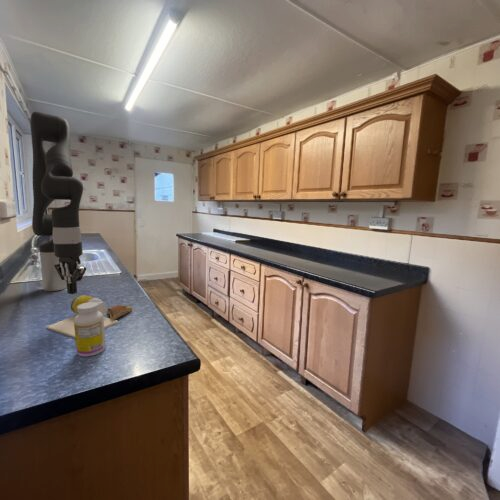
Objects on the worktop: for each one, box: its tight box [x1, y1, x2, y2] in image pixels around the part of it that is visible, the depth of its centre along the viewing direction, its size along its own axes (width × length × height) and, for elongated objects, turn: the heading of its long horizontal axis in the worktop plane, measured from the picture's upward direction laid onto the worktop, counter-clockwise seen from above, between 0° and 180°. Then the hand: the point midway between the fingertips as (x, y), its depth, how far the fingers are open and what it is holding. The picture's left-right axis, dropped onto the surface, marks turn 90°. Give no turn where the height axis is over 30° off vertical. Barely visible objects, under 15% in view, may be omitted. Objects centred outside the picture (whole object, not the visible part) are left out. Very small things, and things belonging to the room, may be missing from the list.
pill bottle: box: [70, 294, 109, 316], centre depth 92 cm, size 6×6×12 cm
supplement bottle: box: [74, 302, 106, 357], centre depth 71 cm, size 7×7×13 cm
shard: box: [107, 304, 133, 320], centre depth 95 cm, size 11×8×2 cm
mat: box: [45, 314, 119, 339], centre depth 87 cm, size 16×13×1 cm
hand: (72, 293), depth 89 cm, fingers closed
